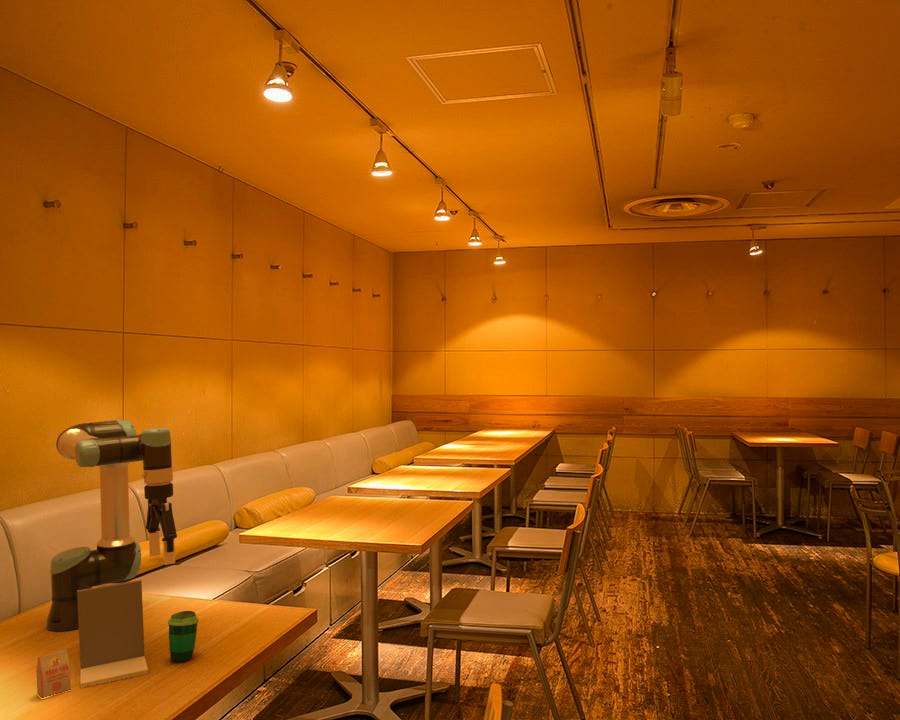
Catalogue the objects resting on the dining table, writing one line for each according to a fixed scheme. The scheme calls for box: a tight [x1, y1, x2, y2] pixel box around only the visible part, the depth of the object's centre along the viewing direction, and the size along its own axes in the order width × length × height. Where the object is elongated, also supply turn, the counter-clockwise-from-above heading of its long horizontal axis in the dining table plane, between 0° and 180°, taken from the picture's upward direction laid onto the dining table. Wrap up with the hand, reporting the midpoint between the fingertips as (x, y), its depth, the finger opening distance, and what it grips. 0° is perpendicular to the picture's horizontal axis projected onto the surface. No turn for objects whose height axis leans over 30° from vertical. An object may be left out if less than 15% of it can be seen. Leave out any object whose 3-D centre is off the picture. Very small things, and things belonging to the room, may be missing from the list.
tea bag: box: [35, 649, 72, 698], centre depth 185 cm, size 4×7×10 cm, turn 134°
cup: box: [167, 610, 200, 664], centre depth 204 cm, size 8×8×12 cm
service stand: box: [77, 580, 149, 689], centre depth 196 cm, size 12×16×22 cm
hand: (162, 559), depth 204 cm, fingers open, 13 cm apart
